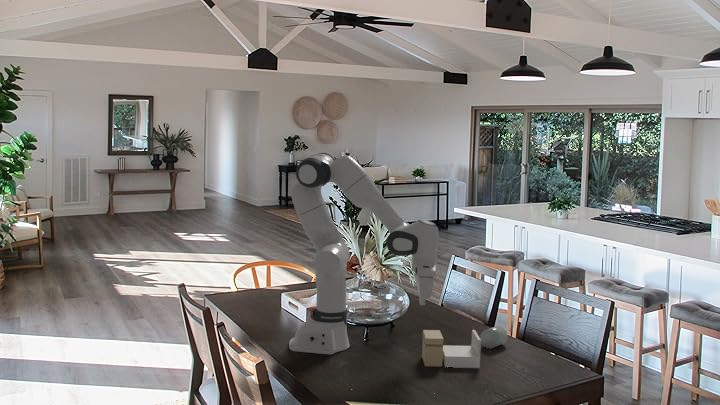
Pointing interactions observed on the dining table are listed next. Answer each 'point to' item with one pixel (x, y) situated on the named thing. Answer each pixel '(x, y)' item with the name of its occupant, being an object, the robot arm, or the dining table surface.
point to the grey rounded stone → (493, 337)
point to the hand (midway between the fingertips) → (421, 304)
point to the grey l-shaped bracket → (463, 354)
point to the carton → (432, 348)
